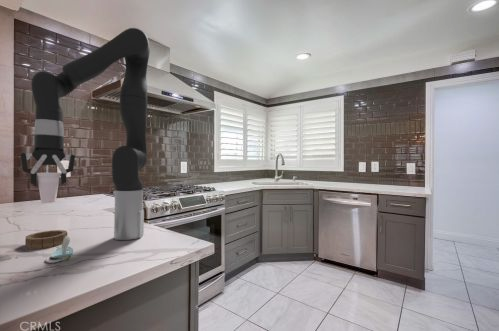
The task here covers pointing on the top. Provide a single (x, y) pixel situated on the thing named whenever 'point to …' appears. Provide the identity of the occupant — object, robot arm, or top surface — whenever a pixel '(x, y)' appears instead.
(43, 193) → the smoothie
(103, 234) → the top surface
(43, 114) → the robot arm
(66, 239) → the pacifier
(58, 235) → the brown polygonal ring
